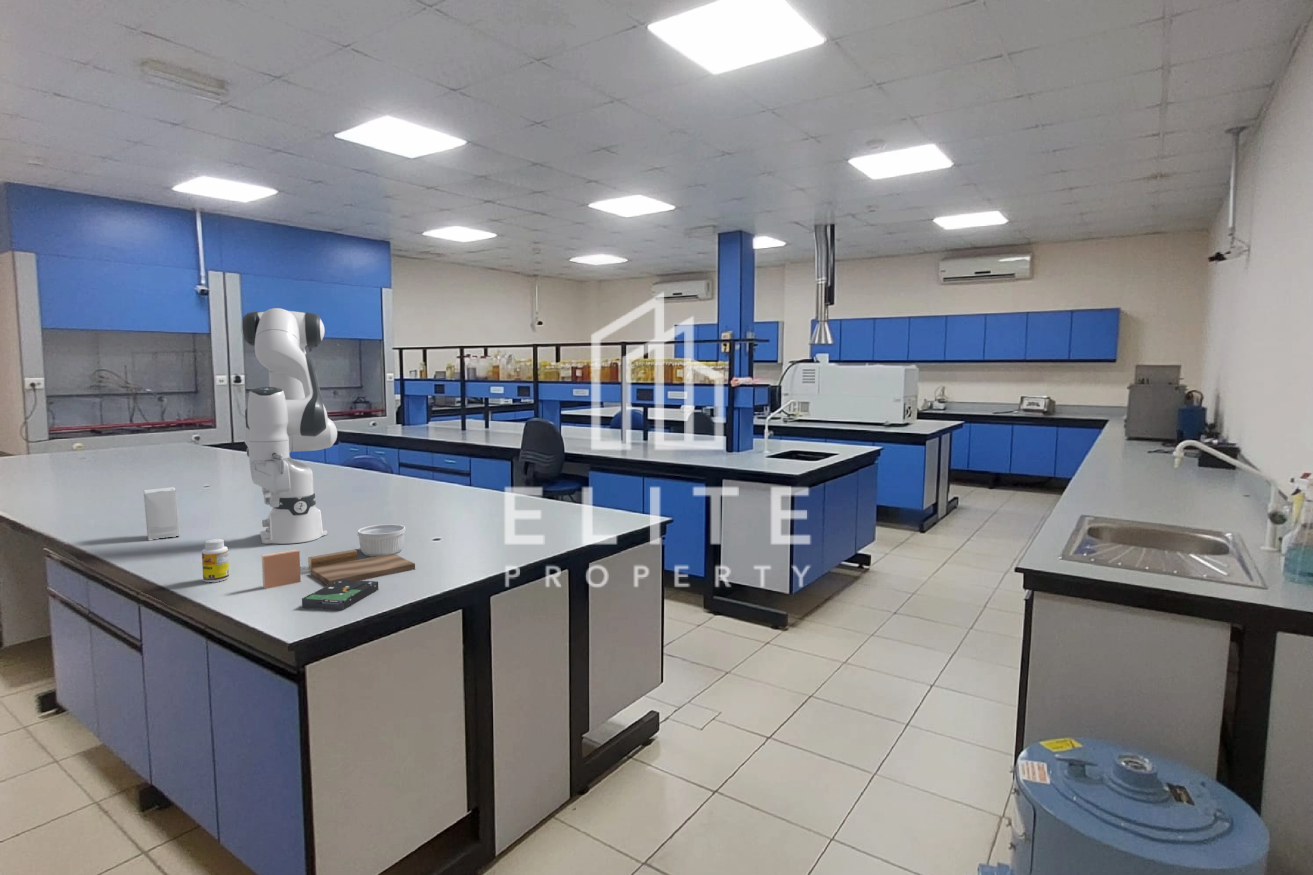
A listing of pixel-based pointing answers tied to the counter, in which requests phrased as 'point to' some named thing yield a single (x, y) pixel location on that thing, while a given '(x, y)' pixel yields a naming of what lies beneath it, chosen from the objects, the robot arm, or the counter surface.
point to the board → (362, 569)
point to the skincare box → (161, 513)
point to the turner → (328, 560)
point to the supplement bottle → (215, 561)
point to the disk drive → (340, 595)
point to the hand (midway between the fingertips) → (271, 505)
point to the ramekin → (381, 539)
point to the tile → (281, 568)
